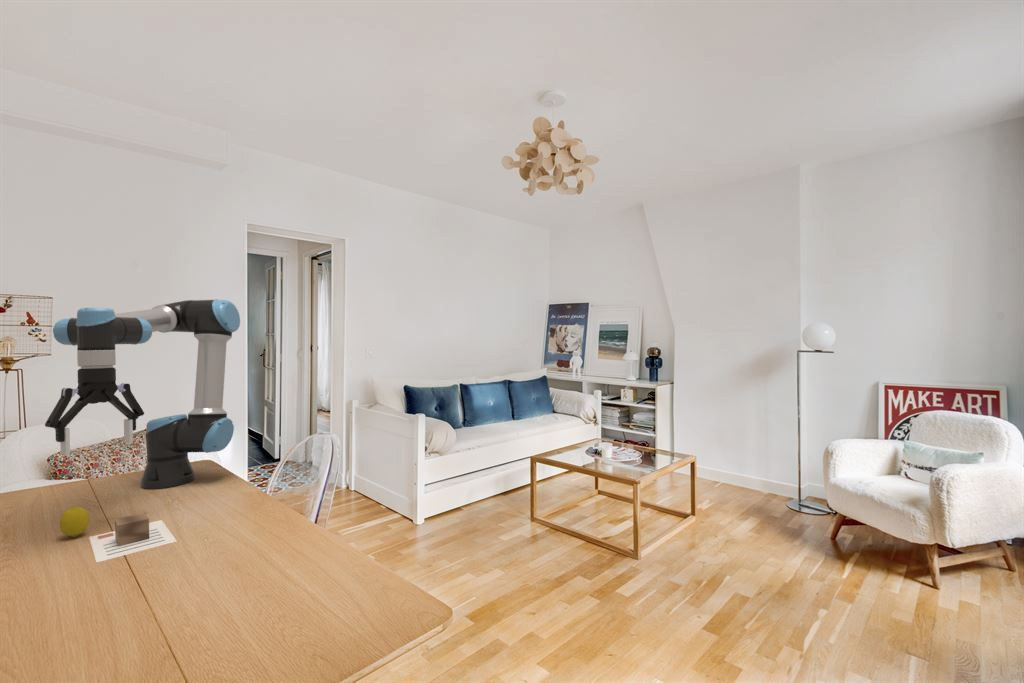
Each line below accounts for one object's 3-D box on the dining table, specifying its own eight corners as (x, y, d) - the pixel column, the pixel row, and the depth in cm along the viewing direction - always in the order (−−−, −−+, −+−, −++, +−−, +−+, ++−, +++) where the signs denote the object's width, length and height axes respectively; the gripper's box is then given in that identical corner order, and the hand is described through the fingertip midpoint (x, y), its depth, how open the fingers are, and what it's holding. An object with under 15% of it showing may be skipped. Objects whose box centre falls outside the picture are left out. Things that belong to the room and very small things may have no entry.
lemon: (95, 533, 124) (94, 502, 124) (73, 542, 118) (72, 510, 118) (76, 532, 124) (75, 502, 124) (53, 541, 119) (52, 510, 119)
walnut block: (145, 531, 124) (144, 512, 123) (149, 538, 119) (148, 518, 119) (115, 539, 119) (114, 519, 119) (118, 546, 115) (117, 525, 115)
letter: (161, 520, 132) (161, 519, 132) (177, 542, 118) (177, 541, 118) (89, 537, 121) (89, 536, 121) (96, 563, 107) (96, 562, 107)
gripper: (142, 364, 137) (143, 438, 137) (25, 370, 114) (27, 458, 114) (158, 364, 134) (159, 440, 134) (40, 370, 111) (42, 461, 111)
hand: (98, 448), depth 124 cm, fingers open, 13 cm apart
